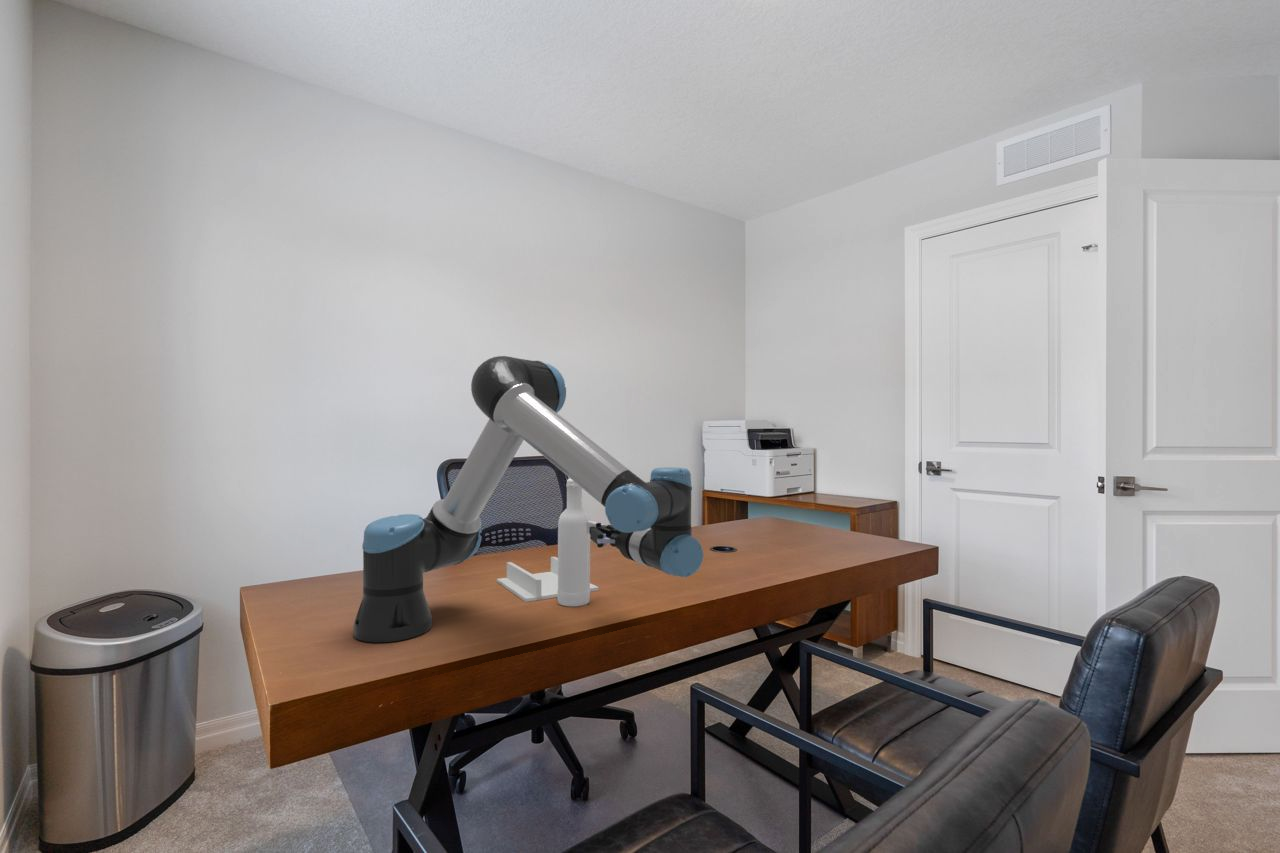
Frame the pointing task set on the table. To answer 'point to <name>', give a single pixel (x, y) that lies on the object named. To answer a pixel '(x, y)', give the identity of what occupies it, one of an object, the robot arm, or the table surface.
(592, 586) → the u rest
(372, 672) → the table surface
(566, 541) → the bottle
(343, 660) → the table surface
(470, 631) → the table surface
